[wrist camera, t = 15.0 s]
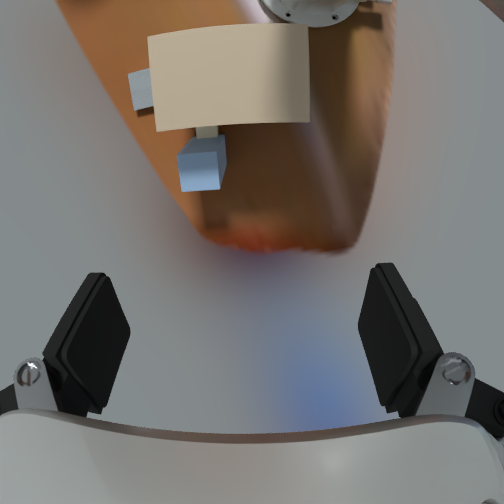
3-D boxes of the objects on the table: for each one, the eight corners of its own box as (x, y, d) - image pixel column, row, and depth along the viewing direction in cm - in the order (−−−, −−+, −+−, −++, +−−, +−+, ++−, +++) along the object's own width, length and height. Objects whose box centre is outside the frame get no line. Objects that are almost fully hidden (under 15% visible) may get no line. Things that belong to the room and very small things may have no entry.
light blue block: (219, 61, 31) (209, 56, 23) (226, 164, 38) (219, 189, 31) (186, 65, 31) (166, 62, 23) (196, 166, 38) (181, 191, 31)
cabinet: (287, 42, 29) (307, 24, 18) (289, 105, 34) (310, 122, 22) (185, 49, 30) (147, 36, 18) (189, 110, 34) (156, 131, 22)
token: (168, 64, 31) (165, 64, 30) (174, 100, 34) (171, 101, 33) (132, 73, 32) (127, 74, 30) (138, 109, 34) (134, 110, 33)
